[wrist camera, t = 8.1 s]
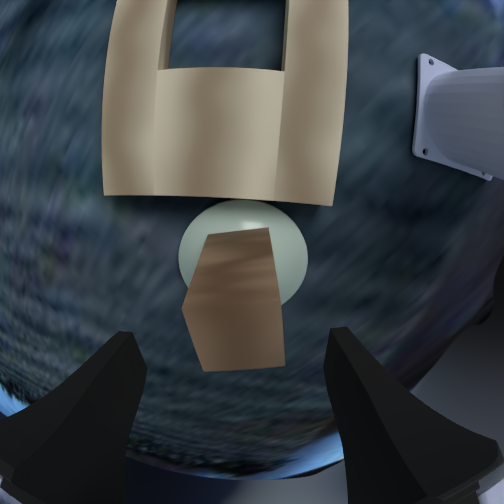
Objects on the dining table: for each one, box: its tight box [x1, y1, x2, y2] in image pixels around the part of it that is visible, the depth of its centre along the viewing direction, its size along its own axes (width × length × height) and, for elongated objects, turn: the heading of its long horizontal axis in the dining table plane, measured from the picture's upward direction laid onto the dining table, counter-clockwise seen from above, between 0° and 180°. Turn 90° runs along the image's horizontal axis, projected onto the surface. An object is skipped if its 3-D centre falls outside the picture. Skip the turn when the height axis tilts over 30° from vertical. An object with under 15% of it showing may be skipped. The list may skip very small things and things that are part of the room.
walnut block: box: [182, 227, 285, 372], centre depth 15 cm, size 4×4×8 cm
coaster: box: [179, 199, 308, 305], centre depth 19 cm, size 9×9×1 cm
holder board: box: [102, 0, 348, 206], centre depth 13 cm, size 14×16×2 cm
